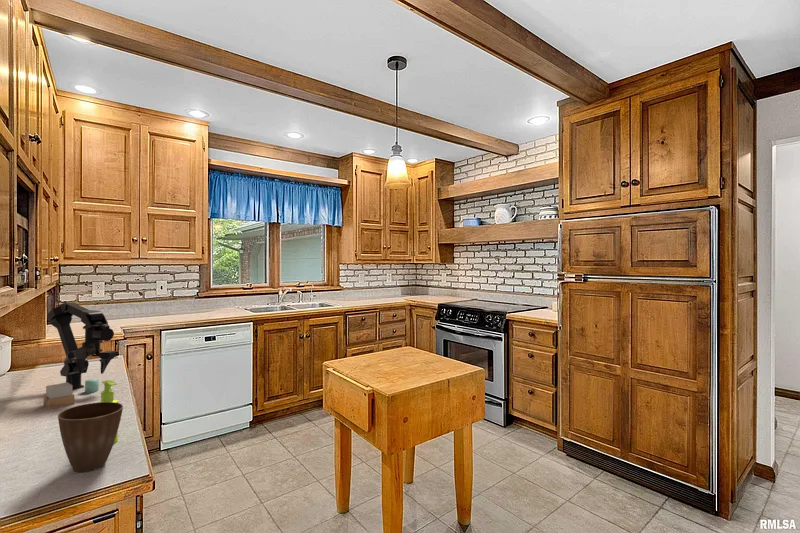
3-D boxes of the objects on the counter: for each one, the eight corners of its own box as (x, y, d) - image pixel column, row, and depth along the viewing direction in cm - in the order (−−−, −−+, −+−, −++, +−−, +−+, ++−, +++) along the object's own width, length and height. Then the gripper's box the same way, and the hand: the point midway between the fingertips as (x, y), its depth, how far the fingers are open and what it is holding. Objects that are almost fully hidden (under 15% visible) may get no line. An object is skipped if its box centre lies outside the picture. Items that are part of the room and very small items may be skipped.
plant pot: (124, 450, 129) (125, 399, 129) (118, 471, 115) (119, 414, 115) (63, 460, 121) (64, 405, 122) (49, 484, 108) (51, 422, 108)
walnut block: (43, 405, 169) (43, 395, 169) (67, 400, 176) (68, 391, 176) (49, 409, 164) (49, 399, 165) (74, 404, 171) (74, 395, 171)
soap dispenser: (101, 449, 130) (103, 384, 130) (91, 443, 133) (93, 381, 133) (122, 442, 135) (123, 380, 135) (112, 437, 138) (113, 377, 138)
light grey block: (45, 395, 170) (46, 385, 170) (67, 391, 175) (67, 382, 175) (50, 399, 165) (50, 389, 165) (72, 395, 171) (72, 385, 171)
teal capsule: (83, 391, 188) (83, 380, 188) (96, 389, 192) (96, 378, 192) (87, 393, 185) (87, 382, 185) (100, 391, 189) (100, 380, 189)
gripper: (57, 341, 181) (56, 377, 181) (100, 342, 181) (99, 378, 181) (77, 337, 192) (76, 371, 192) (117, 338, 192) (117, 372, 192)
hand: (91, 373), depth 189 cm, fingers open, 9 cm apart
